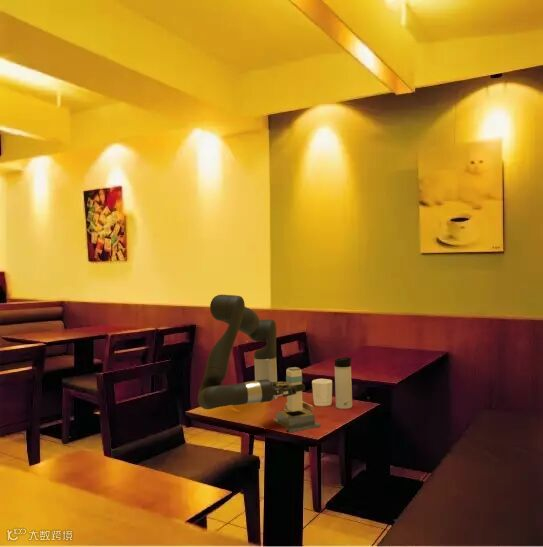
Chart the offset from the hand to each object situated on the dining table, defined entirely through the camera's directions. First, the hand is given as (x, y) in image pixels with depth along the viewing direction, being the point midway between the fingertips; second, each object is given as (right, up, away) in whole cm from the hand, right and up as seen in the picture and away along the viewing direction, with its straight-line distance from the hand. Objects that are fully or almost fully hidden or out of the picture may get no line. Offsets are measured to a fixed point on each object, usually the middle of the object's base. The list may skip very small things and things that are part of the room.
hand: (301, 385), depth 196 cm
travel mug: (+17, -12, +17) cm, 27 cm away
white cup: (+10, -13, +22) cm, 27 cm away
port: (-2, -13, -1) cm, 14 cm away
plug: (-2, -8, -1) cm, 8 cm away
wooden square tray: (0, -13, +14) cm, 19 cm away
